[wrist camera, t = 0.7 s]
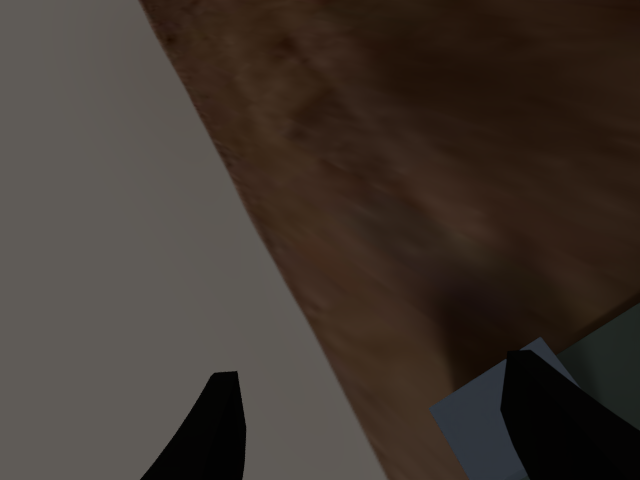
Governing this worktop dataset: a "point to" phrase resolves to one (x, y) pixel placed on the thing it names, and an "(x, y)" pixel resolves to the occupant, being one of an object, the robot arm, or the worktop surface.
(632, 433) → the robot arm
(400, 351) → the worktop surface
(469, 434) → the block
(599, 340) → the pitch mat
